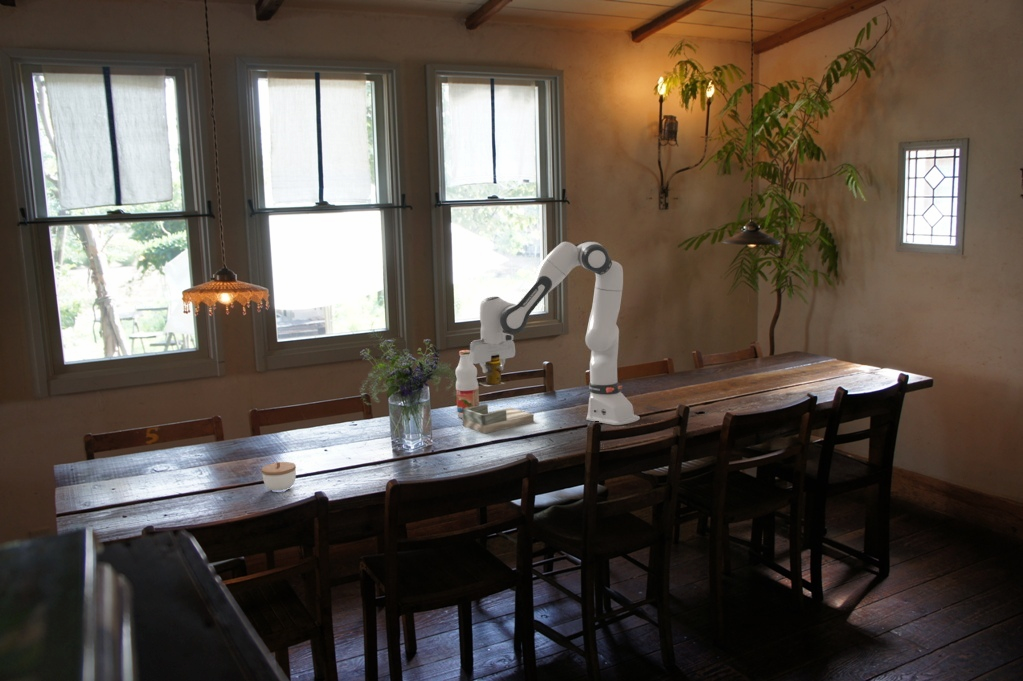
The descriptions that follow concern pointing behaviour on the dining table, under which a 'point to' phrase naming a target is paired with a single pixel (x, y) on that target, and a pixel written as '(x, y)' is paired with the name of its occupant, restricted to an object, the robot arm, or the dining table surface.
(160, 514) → the dining table surface
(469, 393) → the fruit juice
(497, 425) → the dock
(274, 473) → the lidded jar
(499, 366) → the condiment
